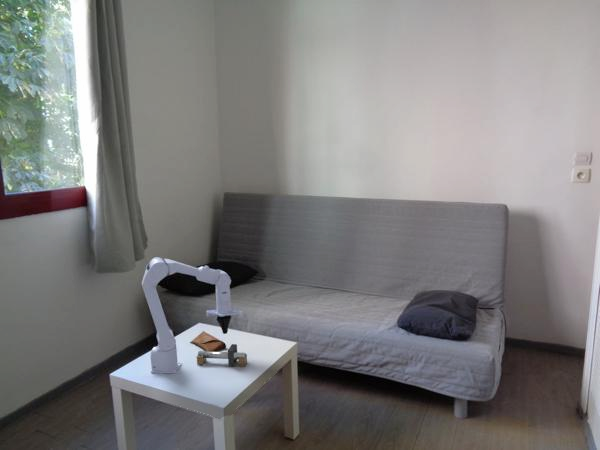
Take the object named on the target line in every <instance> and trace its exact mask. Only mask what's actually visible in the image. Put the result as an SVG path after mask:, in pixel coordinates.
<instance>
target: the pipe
mask: <svg viewBox="0 0 600 450" xmlns="http://www.w3.org/2000/svg"><path fill="white" fill-rule="evenodd" d="M207 359H220V360H222V359H223V360H228V351H218V352H211V351H204V350H199V351H198V352H197V355H196V362H197V363H196V364H197V366H204V364H205V363H206V362H207ZM234 359H237V361H238V362H237V363H238V367H239V368H240V367H241V368H245V367H246V365H247V363H248V354H247V353H246V352H239V351H237V352H234Z"/></svg>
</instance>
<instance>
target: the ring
mask: <svg viewBox="0 0 600 450" xmlns="http://www.w3.org/2000/svg"><path fill="white" fill-rule="evenodd" d="M227 352H228V359H227V362H228V366H229V367H235V365H236V363H237V361H238V359H234V352H238V344H237V343H235V344H233V343H232V344H231V345H230V346H229V348H228V349H227Z"/></svg>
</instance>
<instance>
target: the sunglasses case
mask: <svg viewBox="0 0 600 450" xmlns="http://www.w3.org/2000/svg"><path fill="white" fill-rule="evenodd" d="M189 343H190V344H192V345H194V346H196V347H198V348H199V349H201V350H202V351H211V352H222V350H226V348H227V344H226V343H225V342H224V341H222V340H220V339H219V338H217V337H215V336H213V335H211V334H209V333H208V332H205V330H202V332H201V333H199V334H198V335H197V336H196V337H195V338H194V339H191V341H190V342H189Z"/></svg>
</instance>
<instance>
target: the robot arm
mask: <svg viewBox="0 0 600 450" xmlns="http://www.w3.org/2000/svg"><path fill="white" fill-rule="evenodd" d="M175 273H179V274H183V275H189V276H192V277H195V278H196V280H197V281H200V282H204V283H206V284H211V285H215V299H216V300H215V301H216V309H207V310H206V312H205V314H206V315H205V316H206V317H216V322H217V323H218V324H219V326H220V328H221V330H222V331H221V332H222V334H223V335H225V334H227V333H228V331H229V325H230V321H231V319H232V317H238V318H241V317H243V310H236V309H232V304H231V303H232V301H231V300H232V299H231V289H230V288H231V287H230V285H231V283H232V279H231V276H229V274H228V273H227V272H225V271H223V270H222V269H214V268H210V267H209V265H204V266H203V265H202V266H200V267H196V266H192V265H188V264H186V263H182V262H179V261H176V260H172V259H169V258H162V257H159V256H157V257H154V258H153V257H152V259H150V260H149V262H148V264H146V266H145V271H144V274H143V277H142V280H141V288H142V289H143V290H142V291H143V293H144V296H145V298H146V299H145V300H146V302H147V305H148V307H149V310H150V314H151V316H152V320H153V323H154V326H155V329H156V339H157V343H158V344H157V346H153V348H152V349H151V351H150V364H151V367H150V368H151V371H150V373H154V374H155V373H156V374H172V375H173V374H175V373H176V371H177V370H179V368H180V367H181V366H182V364H183V363H182V362H178V349H177V343H176V342H177V340H176V337H175V336H174V332H173V330H172V328H170V327H169V323H168V322H167V319H166V318H167V317H166V315H165V313H164V309H163V306H162V303H161V300H160V297H159V294H158V291H157V286H158V284H159V283H160V281H162V280H163V279H164V278H165V277H166V276H168V275H169V276H170V275H173V274H175Z"/></svg>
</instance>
